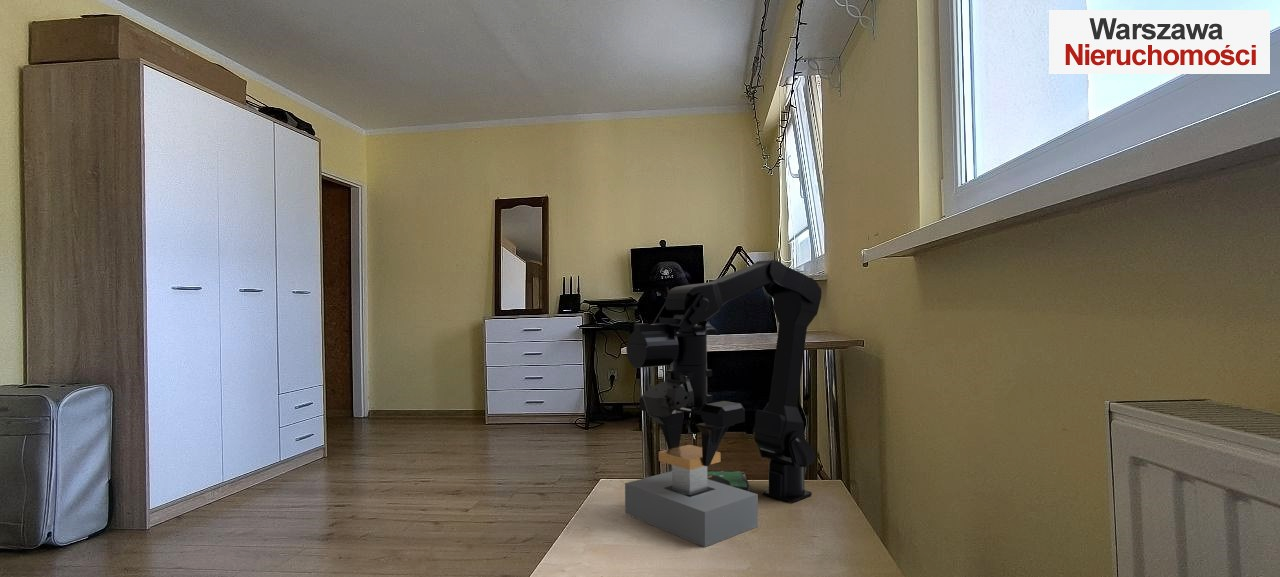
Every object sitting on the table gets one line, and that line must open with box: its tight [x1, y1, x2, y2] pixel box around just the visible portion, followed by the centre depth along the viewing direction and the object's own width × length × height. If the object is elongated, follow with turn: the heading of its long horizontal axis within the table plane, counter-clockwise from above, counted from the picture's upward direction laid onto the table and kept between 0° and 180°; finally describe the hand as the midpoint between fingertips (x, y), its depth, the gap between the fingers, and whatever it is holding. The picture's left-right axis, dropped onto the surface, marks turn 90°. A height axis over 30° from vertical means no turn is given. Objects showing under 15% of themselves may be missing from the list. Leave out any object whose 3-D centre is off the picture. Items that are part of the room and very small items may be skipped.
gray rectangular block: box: [624, 471, 759, 548], centre depth 97 cm, size 12×18×5 cm, turn 41°
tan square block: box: [658, 444, 722, 495], centre depth 97 cm, size 7×7×6 cm
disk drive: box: [667, 469, 751, 492], centre depth 113 cm, size 10×3×15 cm
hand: (689, 460), depth 97 cm, fingers closed on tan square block, 7 cm apart
